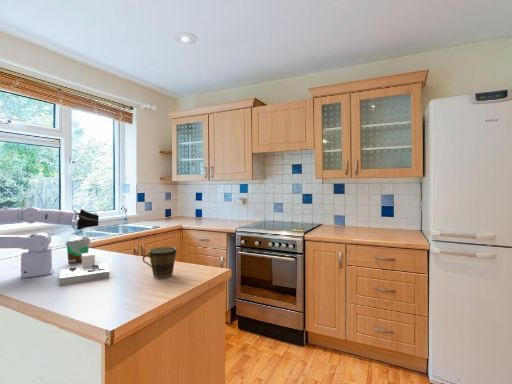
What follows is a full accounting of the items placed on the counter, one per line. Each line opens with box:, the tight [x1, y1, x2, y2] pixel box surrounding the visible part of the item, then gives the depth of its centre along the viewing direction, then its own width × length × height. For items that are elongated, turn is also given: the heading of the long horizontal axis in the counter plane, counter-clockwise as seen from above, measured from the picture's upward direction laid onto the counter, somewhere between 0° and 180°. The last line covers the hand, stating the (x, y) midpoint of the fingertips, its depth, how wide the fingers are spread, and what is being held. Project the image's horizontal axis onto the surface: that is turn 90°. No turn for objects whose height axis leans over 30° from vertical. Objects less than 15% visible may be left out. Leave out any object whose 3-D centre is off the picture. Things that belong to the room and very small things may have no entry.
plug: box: [81, 251, 96, 267], centre depth 116 cm, size 4×6×6 cm
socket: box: [59, 263, 110, 286], centre depth 106 cm, size 15×12×3 cm
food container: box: [65, 236, 91, 265], centre depth 131 cm, size 12×6×10 cm, turn 179°
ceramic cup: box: [142, 246, 177, 280], centre depth 106 cm, size 13×10×10 cm
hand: (98, 220), depth 121 cm, fingers open, 7 cm apart
